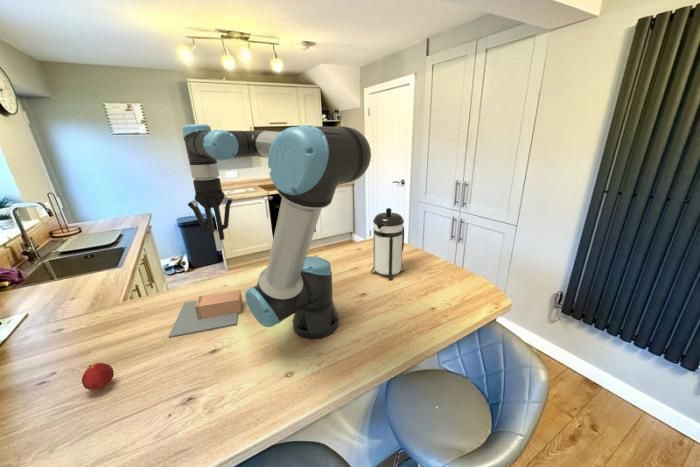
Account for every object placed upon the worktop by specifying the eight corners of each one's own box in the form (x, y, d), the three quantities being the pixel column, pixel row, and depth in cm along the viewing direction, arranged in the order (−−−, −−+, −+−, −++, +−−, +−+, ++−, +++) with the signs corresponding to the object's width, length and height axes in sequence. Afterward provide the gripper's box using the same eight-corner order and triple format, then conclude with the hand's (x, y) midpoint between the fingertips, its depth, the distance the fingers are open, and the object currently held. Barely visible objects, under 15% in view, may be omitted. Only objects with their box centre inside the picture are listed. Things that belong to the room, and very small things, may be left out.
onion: (99, 379, 73) (89, 355, 71) (122, 377, 74) (113, 353, 71) (81, 399, 68) (69, 373, 65) (106, 396, 68) (96, 371, 65)
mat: (236, 325, 93) (236, 323, 93) (168, 338, 88) (168, 336, 88) (240, 294, 111) (240, 293, 111) (184, 303, 106) (184, 302, 106)
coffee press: (409, 280, 119) (412, 212, 109) (371, 281, 119) (371, 213, 109) (402, 263, 135) (405, 202, 125) (369, 263, 136) (369, 203, 126)
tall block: (239, 299, 98) (194, 307, 94) (241, 311, 99) (197, 319, 96) (240, 289, 104) (198, 296, 100) (242, 301, 106) (201, 308, 102)
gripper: (230, 175, 91) (241, 243, 99) (185, 178, 88) (200, 247, 95) (227, 178, 84) (239, 250, 92) (179, 181, 81) (196, 256, 89)
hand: (220, 249), depth 94 cm, fingers closed
